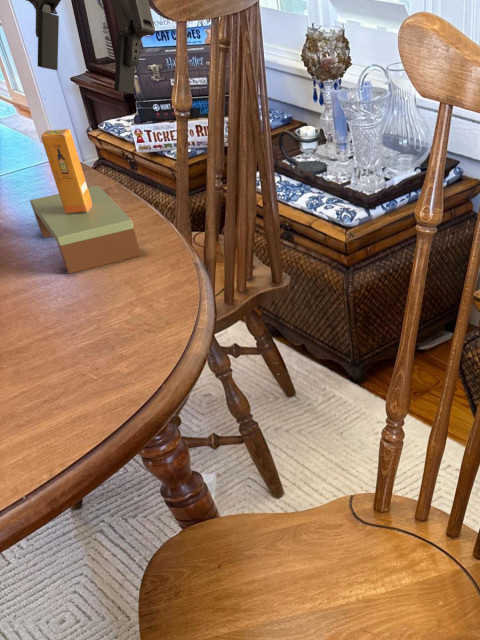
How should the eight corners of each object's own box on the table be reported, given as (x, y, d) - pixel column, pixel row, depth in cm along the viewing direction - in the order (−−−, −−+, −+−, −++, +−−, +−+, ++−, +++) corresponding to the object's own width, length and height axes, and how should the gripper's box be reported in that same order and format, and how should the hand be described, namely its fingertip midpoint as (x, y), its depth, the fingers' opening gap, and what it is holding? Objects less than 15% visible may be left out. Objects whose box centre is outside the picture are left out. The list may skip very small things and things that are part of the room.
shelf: (41, 234, 115) (29, 199, 112) (108, 218, 119) (98, 185, 116) (69, 273, 105) (56, 237, 102) (141, 255, 109) (131, 219, 106)
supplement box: (94, 204, 110) (71, 127, 103) (88, 213, 108) (64, 135, 101) (70, 205, 110) (46, 128, 103) (64, 214, 108) (38, 136, 101)
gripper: (194, -88, 95) (176, 105, 105) (42, -122, 102) (39, 63, 112) (151, -109, 88) (137, 99, 98) (-8, -143, 95) (-6, 54, 105)
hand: (85, 80), depth 105 cm, fingers open, 13 cm apart
